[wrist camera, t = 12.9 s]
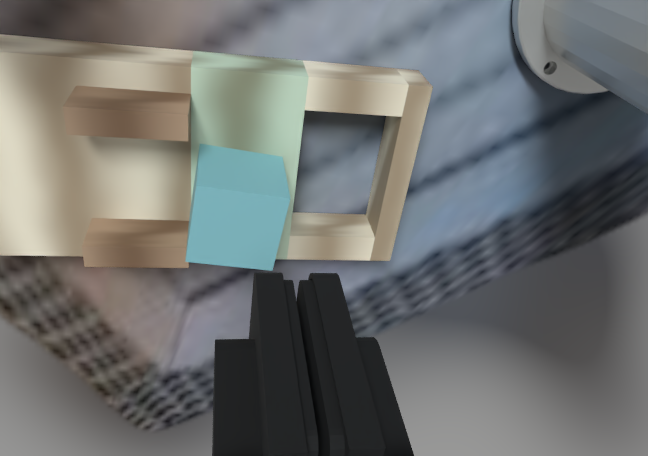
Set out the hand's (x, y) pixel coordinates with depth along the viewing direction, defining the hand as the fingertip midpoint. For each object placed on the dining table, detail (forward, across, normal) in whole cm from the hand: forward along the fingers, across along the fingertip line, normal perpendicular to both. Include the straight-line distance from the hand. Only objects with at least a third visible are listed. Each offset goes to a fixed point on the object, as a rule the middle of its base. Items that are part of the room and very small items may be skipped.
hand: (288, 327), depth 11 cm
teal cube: (+22, 0, +9) cm, 24 cm away
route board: (+25, +2, +8) cm, 27 cm away
